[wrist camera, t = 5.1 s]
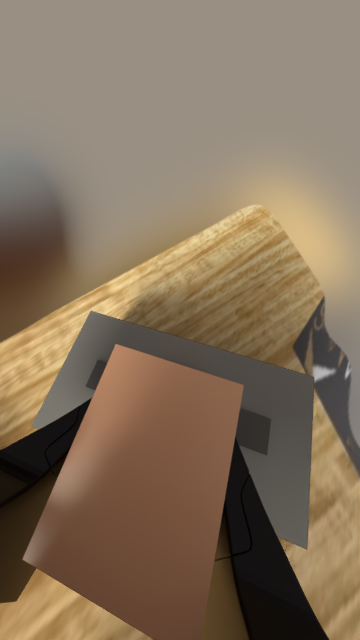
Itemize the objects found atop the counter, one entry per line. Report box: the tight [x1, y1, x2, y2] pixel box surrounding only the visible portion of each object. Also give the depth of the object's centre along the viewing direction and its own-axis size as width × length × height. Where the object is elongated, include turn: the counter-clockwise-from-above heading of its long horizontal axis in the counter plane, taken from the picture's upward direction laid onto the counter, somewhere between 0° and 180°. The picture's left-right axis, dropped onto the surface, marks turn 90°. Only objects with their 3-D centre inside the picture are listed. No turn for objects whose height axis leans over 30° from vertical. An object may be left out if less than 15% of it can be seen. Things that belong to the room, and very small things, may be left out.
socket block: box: [32, 311, 314, 550], centre depth 13 cm, size 9×18×5 cm, turn 73°
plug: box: [23, 344, 244, 640], centre depth 9 cm, size 5×4×11 cm
